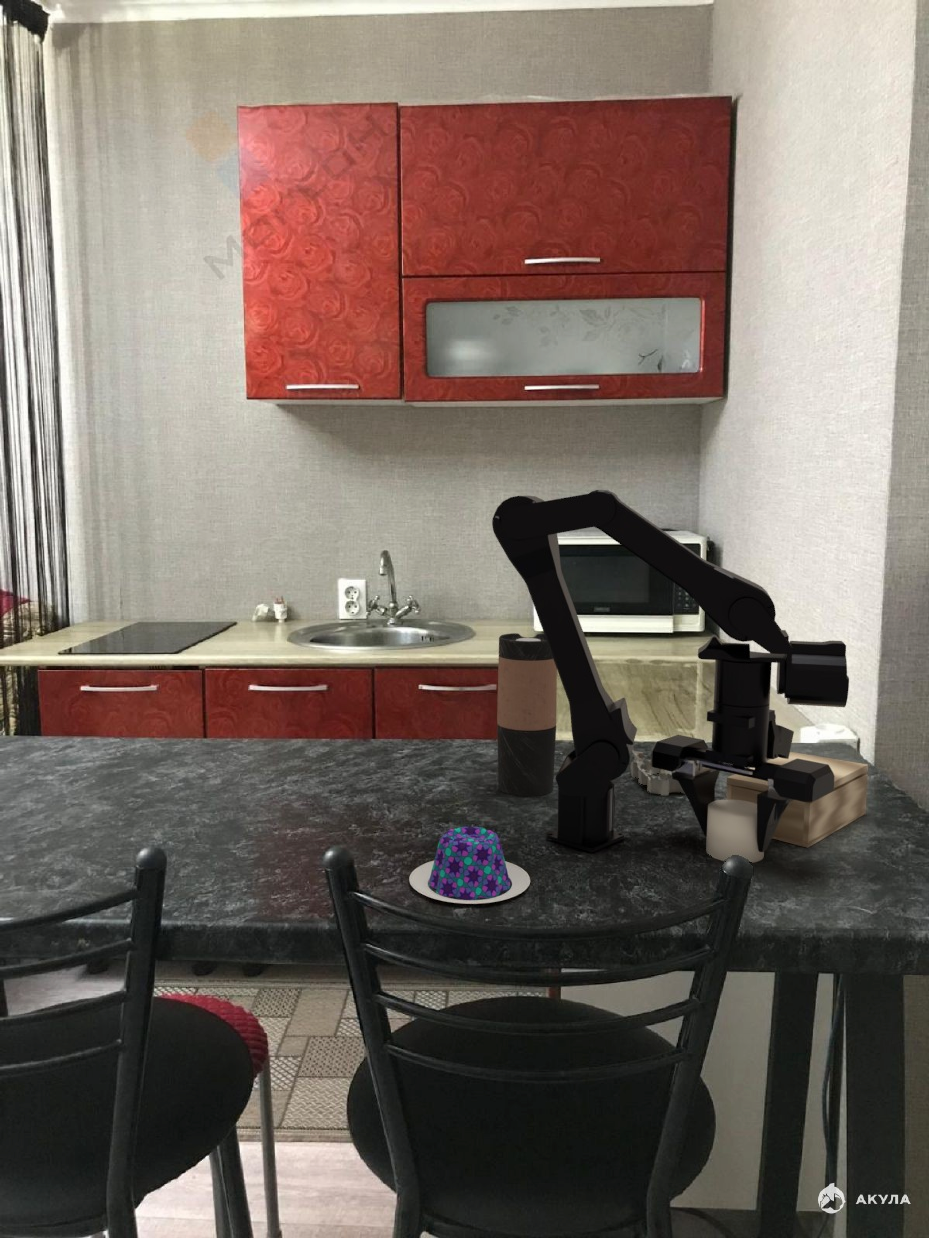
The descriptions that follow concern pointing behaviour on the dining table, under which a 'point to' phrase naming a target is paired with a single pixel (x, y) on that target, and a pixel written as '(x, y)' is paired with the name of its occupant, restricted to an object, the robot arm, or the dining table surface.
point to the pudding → (469, 869)
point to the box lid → (840, 768)
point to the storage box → (814, 811)
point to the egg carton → (646, 777)
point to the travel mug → (526, 715)
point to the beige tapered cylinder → (732, 830)
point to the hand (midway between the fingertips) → (735, 843)
